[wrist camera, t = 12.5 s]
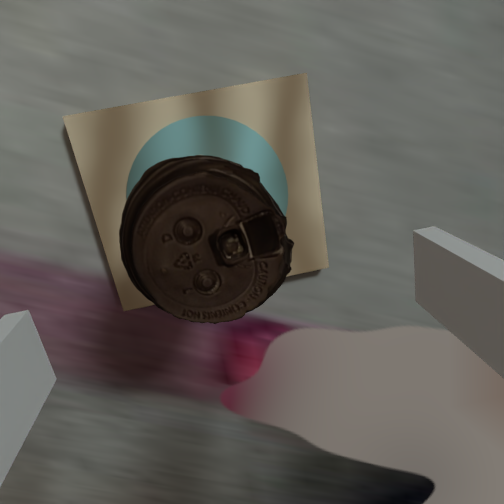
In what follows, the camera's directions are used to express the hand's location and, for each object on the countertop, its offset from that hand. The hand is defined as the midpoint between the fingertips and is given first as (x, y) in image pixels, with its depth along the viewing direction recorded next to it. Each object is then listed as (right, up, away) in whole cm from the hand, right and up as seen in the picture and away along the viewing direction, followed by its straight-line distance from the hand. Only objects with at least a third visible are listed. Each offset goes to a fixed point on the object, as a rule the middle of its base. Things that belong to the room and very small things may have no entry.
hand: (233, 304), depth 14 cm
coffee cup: (-3, +6, +17) cm, 18 cm away
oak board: (-3, +6, +18) cm, 19 cm away
